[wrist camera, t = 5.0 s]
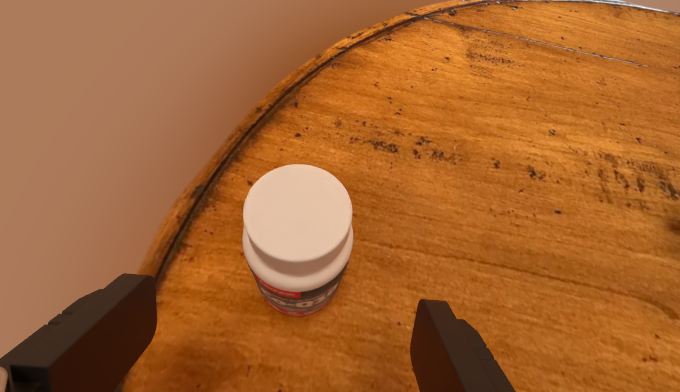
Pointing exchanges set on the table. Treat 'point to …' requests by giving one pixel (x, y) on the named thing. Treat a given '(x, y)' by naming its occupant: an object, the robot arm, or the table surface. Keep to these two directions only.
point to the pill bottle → (298, 237)
